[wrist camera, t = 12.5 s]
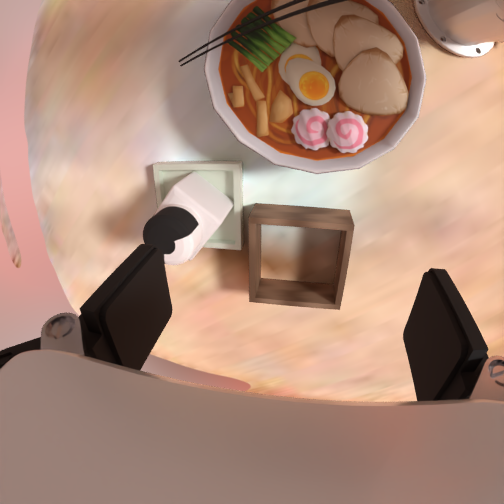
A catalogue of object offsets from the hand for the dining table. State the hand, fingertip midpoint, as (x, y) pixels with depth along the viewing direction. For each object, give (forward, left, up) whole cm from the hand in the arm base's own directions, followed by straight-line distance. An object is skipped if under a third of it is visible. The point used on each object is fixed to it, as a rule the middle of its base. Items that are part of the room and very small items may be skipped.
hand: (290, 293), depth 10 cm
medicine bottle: (+14, +8, -30) cm, 34 cm away
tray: (+14, +8, -30) cm, 34 cm away
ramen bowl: (-1, -10, -30) cm, 32 cm away
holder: (0, +14, -30) cm, 33 cm away
